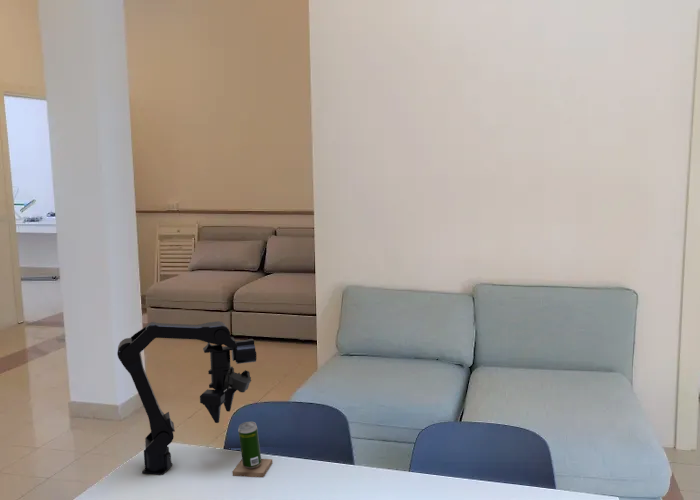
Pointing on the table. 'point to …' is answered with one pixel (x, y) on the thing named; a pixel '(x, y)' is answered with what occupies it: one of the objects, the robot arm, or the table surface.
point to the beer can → (249, 445)
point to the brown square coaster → (254, 472)
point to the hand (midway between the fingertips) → (222, 416)
